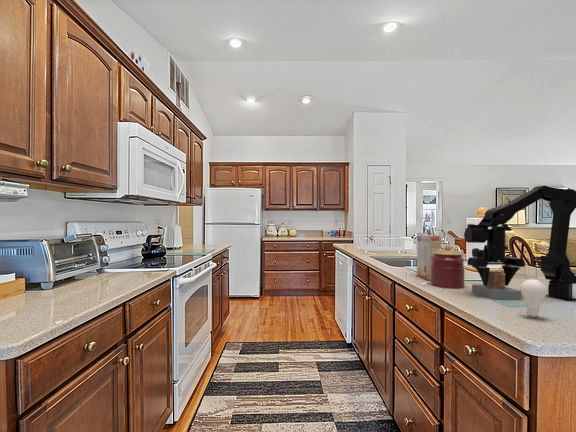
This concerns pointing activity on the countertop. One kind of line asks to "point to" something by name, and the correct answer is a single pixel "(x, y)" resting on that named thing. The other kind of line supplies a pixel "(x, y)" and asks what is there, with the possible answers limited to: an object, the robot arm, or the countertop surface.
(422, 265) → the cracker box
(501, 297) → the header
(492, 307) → the countertop surface
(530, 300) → the lightbulb
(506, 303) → the mat
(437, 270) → the canister
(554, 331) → the countertop surface
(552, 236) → the robot arm
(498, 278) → the plug
